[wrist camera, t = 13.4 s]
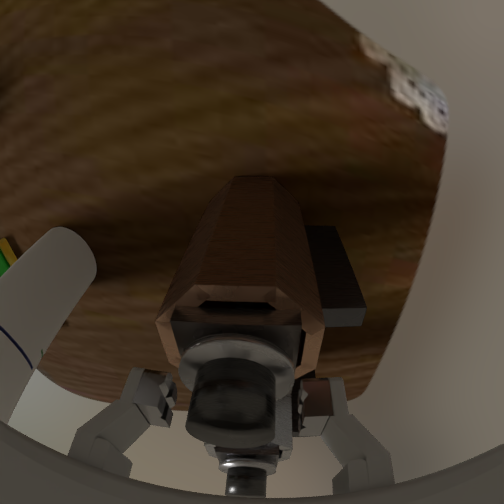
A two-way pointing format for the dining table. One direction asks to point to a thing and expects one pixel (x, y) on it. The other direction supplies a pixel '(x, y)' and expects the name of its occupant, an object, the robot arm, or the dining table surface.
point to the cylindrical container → (38, 306)
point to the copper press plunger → (235, 387)
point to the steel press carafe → (283, 432)
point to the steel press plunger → (246, 476)
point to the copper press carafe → (260, 276)
